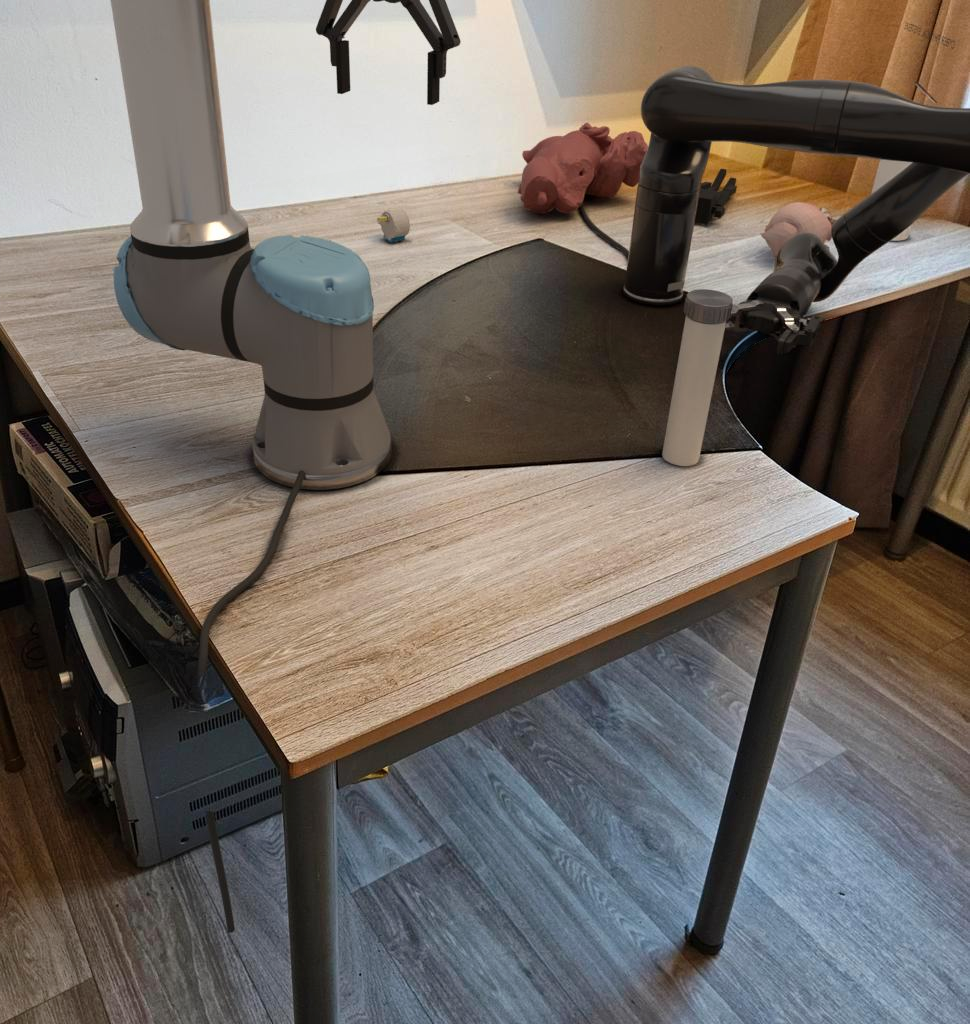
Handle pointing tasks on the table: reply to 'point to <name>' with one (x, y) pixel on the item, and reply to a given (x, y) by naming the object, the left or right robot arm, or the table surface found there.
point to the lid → (708, 306)
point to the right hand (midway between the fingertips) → (746, 340)
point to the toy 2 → (797, 224)
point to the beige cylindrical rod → (692, 391)
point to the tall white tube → (892, 168)
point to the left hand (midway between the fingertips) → (388, 97)
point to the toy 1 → (714, 198)
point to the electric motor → (394, 225)
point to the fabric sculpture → (579, 168)
